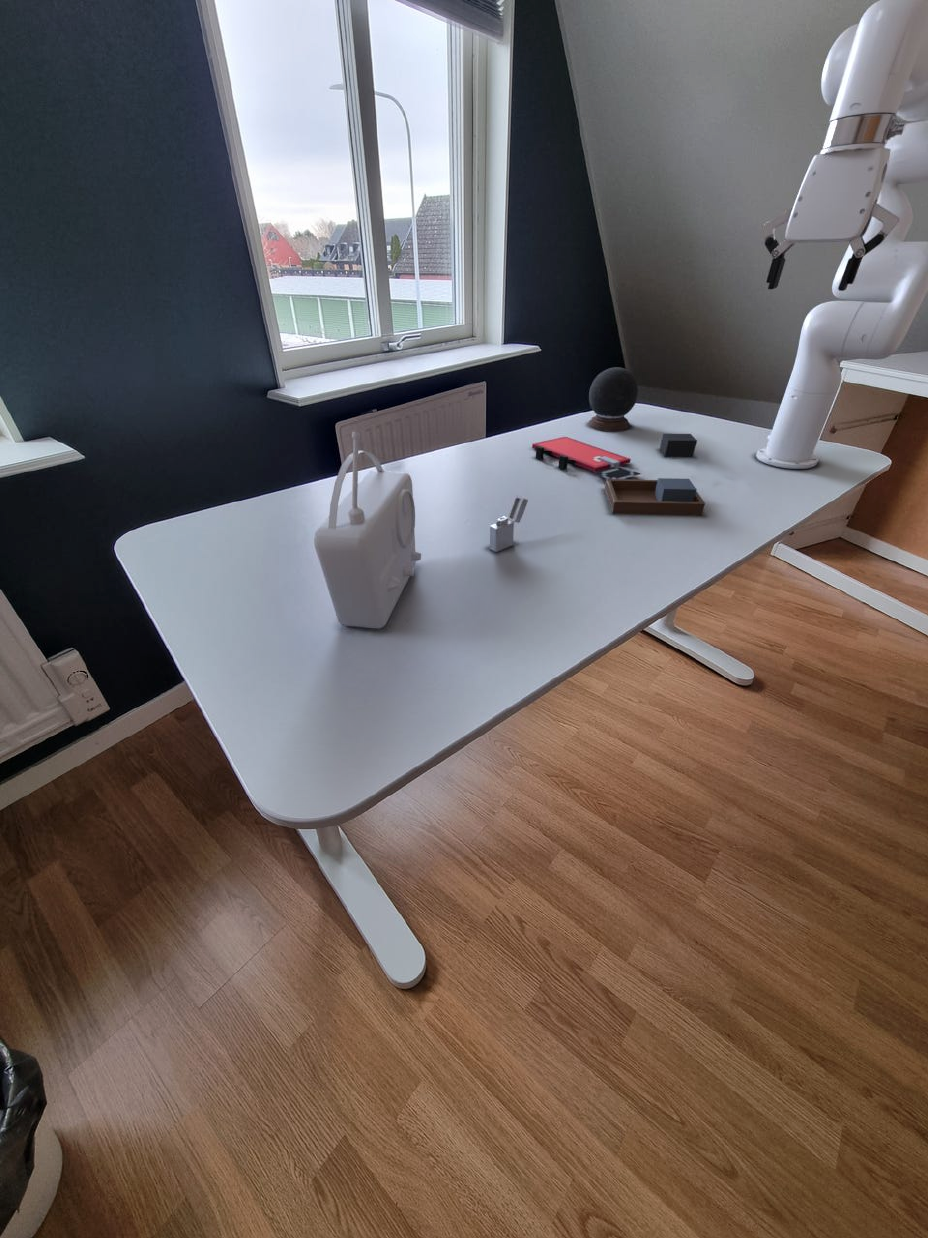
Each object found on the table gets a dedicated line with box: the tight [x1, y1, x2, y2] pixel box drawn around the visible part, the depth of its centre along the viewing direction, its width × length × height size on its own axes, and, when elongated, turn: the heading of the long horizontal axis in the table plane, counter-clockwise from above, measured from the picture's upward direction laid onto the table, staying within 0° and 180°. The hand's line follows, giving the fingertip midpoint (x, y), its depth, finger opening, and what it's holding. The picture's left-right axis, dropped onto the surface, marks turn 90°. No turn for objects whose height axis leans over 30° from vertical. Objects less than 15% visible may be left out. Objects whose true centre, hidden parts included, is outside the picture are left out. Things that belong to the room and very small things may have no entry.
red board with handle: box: [531, 436, 642, 480], centre depth 117 cm, size 30×3×15 cm
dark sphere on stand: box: [588, 366, 639, 432], centre depth 138 cm, size 13×13×15 cm
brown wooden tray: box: [604, 478, 706, 517], centre depth 98 cm, size 12×17×2 cm
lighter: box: [489, 495, 529, 553], centre depth 84 cm, size 7×2×8 cm, turn 129°
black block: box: [659, 433, 698, 458], centre depth 121 cm, size 6×7×4 cm
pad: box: [654, 477, 698, 502], centre depth 97 cm, size 6×6×4 cm
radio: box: [313, 430, 422, 629], centre depth 67 cm, size 22×8×25 cm, turn 170°
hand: (805, 289), depth 78 cm, fingers open, 9 cm apart
